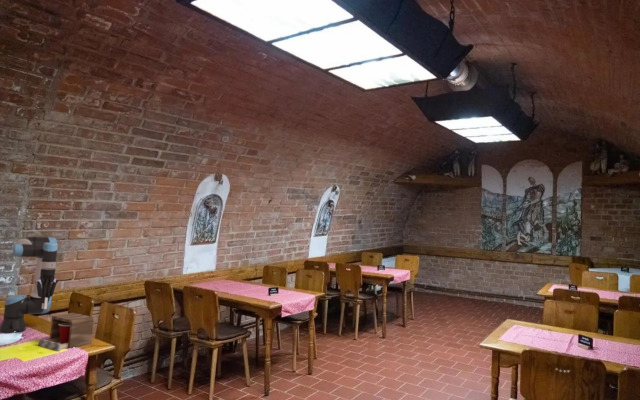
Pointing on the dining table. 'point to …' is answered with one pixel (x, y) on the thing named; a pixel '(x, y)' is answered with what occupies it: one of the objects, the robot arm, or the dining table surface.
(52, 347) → the tray
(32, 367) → the dining table surface
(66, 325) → the plastic cup
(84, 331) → the block
